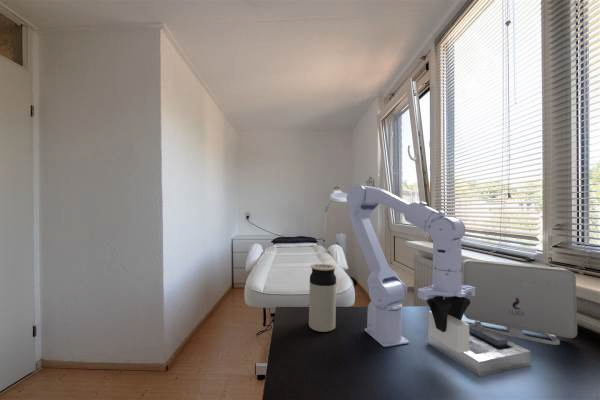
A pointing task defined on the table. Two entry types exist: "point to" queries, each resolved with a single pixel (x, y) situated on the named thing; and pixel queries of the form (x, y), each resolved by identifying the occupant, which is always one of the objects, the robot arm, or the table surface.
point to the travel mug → (322, 298)
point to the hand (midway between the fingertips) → (447, 329)
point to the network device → (522, 298)
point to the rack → (486, 352)
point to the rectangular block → (451, 333)
